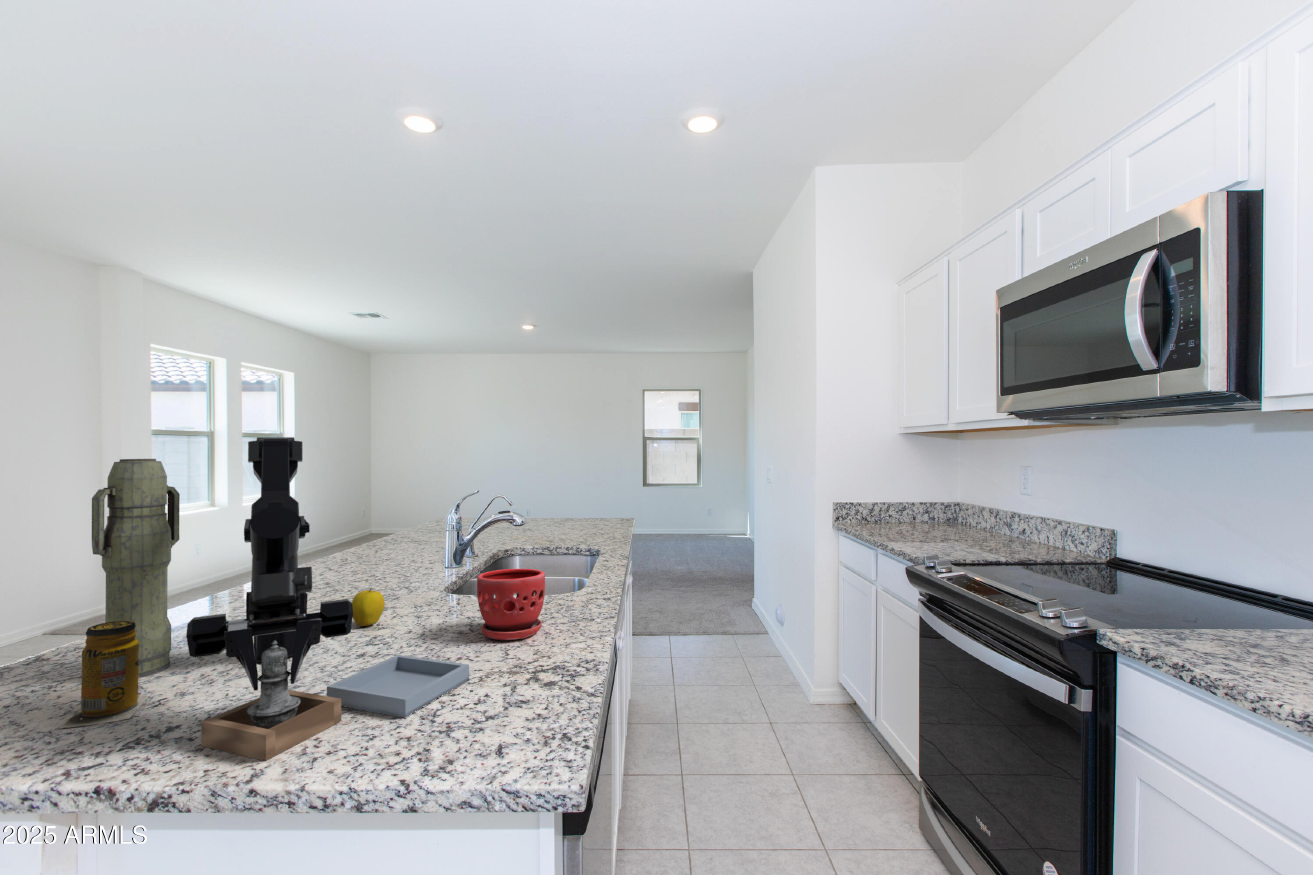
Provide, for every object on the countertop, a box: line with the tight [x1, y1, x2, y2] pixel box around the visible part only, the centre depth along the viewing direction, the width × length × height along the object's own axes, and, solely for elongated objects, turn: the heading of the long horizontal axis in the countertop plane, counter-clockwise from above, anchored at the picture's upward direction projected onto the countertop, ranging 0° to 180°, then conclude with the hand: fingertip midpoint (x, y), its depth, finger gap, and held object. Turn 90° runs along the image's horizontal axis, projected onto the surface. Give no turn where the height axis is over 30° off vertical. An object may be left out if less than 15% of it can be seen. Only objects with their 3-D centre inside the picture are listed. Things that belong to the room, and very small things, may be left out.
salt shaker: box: [247, 640, 301, 729], centre depth 79 cm, size 6×6×12 cm
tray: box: [326, 654, 470, 718], centre depth 92 cm, size 14×14×2 cm
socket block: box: [200, 689, 342, 762], centre depth 79 cm, size 11×11×3 cm
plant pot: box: [476, 568, 546, 641], centre depth 121 cm, size 13×13×12 cm
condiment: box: [59, 620, 150, 729], centre depth 85 cm, size 7×8×12 cm
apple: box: [351, 587, 386, 627], centre depth 126 cm, size 6×6×8 cm
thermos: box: [91, 458, 181, 678], centre depth 102 cm, size 9×12×35 cm
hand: (274, 685), depth 78 cm, fingers closed on salt shaker, 4 cm apart
